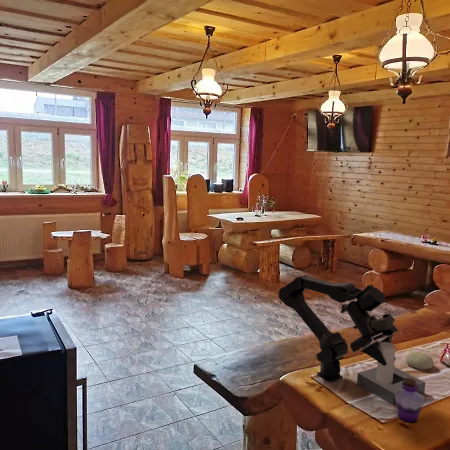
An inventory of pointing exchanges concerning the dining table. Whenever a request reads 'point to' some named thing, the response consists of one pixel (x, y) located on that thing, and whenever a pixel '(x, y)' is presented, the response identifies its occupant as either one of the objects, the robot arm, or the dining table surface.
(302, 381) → the dining table surface
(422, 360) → the sea urchin shell
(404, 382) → the potion bottle
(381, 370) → the beverage can
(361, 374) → the block
